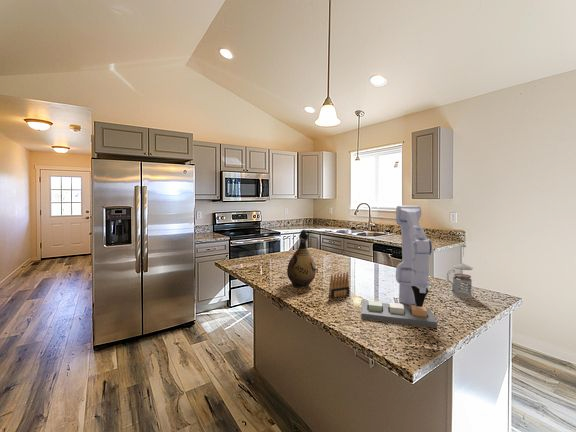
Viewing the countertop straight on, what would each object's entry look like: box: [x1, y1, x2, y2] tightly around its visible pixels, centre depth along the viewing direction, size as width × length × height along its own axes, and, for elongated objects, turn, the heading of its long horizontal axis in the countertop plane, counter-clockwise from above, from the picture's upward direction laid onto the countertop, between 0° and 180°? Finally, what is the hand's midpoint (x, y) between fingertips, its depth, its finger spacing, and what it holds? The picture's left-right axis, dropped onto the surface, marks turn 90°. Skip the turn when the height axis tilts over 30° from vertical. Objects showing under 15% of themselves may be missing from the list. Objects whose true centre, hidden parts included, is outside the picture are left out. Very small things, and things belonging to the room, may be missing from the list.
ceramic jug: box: [286, 229, 317, 289], centre depth 151 cm, size 17×15×30 cm
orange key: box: [410, 304, 427, 317], centre depth 108 cm, size 5×5×3 cm
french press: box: [446, 243, 474, 299], centre depth 138 cm, size 10×12×25 cm
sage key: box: [368, 300, 383, 312], centre depth 112 cm, size 5×5×3 cm
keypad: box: [360, 300, 438, 329], centre depth 110 cm, size 14×26×3 cm, turn 73°
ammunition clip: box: [328, 272, 350, 299], centre depth 132 cm, size 11×2×12 cm, turn 116°
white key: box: [388, 302, 404, 314], centre depth 110 cm, size 5×5×3 cm
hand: (419, 306), depth 108 cm, fingers closed
